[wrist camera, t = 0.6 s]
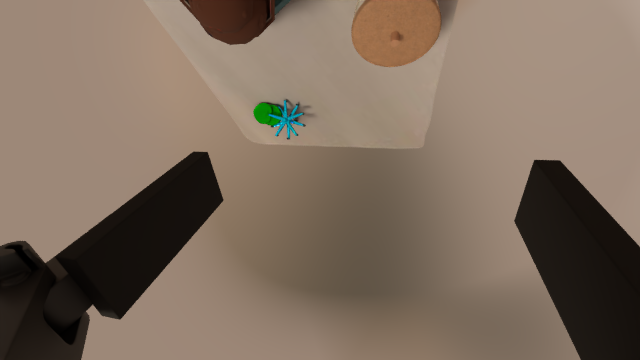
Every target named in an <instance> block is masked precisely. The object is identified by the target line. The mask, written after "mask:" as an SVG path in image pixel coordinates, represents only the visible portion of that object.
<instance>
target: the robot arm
mask: <svg viewBox="0 0 640 360" xmlns="http://www.w3.org/2000/svg"><path fill="white" fill-rule="evenodd" d="M222 202H223V197H222V194H221V191H220V188H219V185H218V182H217V179H216V176H215V173H214V170H213V167H212V164H211V161H210V158H209V155H208V152H193V153H191V154H190V155H188V156H187V157H186V158H184V159H183V160H182V161H181V162H179V163H178V164H176V165H175V166H174V167H173V168H171V169H170V170H169V171H167V172H166V173H165V174H164V175H162V176H161V177H159V178H158V179H157V180H155V181H154V182H153V183H151V184H150V185H149V186H147V187H146V188H145V189H143V190H142V191H141V192H140V193H138V194H137V195H136V196H134V197H133V198H132V199H130V200H129V201H128V202H126V203H125V204H124V205H122V206H121V207H120V208H119V209H117V210H116V211H114V212H113V213H112V214H110V215H109V216H108V217H106V218H105V219H104V220H102V221H101V222H100V223H99V224H97V225H96V226H94V227H93V228H92V229H90V230H89V231H88V232H87V233H85V234H84V235H82V236H81V237H80V238H78V239H77V240H76V241H74V242H73V243H72V244H71V245H69V246H68V247H67V248H65V249H64V250H63V251H61V252H60V253H59V254H57V255H56V256H55V257H53V258H52V259H51V260H49V261H48V262H47V263H44V261H43V260H42V259H41V258H40V257H39V255H38V254H37V253H36V252H35V251H34V250H33V248H32V247H31V246H30V245H29V244H28V243H27V242H26V241H16V242H11V243H7V244H5V245H2V246H0V360H81V358H82V353H83V349H84V344H85V340H86V335H87V330H88V325H89V321H90V319H89V315H88V314H87V312H86V310H88V309H89V308H90V307H91V306H92V305H94V306H95V308H96V309H97V310H98V311H99V313H100V314H101V315H102V316H106V317H110V318H115V319H121V318H122V317H123V316H124V315H125V314H126V312H127V311H128V310H129V309H130V308H131V307H132V305H133V304H134V303H135V302H136V301H137V300H138V299H139V297H140V296H141V295H142V294H143V293H144V292H145V290H146V289H147V288H148V287H149V286H150V285H151V283H152V282H153V281H154V280H155V279H156V278H157V277H158V275H159V274H160V273H161V272H162V271H163V270H164V269H165V267H166V266H167V265H168V264H169V263H170V262H171V260H172V259H173V258H174V257H175V256H176V255H177V254H178V252H179V251H180V250H181V249H182V248H183V246H184V245H185V244H186V243H187V242H188V241H189V239H191V237H192V236H193V235H194V234H195V233H196V232H197V230H198V229H199V228H200V227H201V226H202V225H203V224H204V222H205V221H206V220H207V219H208V218H209V217H210V215H211V214H212V213H213V212H214V211H215V210H216V208H217V207H218V206H219V205H220V204H221V203H222ZM514 221H515V224H516V226H517V228H518V229H519V232H520V234H521V236H522V238H523V240H524V242H525V244H526V246H527V248H528V251H529V253H530V255H531V257H532V259H533V261H534V263H535V265H536V267H537V269H538V271H539V273H540V275H541V277H542V280H543V282H544V284H545V286H546V288H547V290H548V292H549V294H550V296H551V298H552V300H553V302H554V305H555V307H556V309H557V310H558V313H559V315H560V317H561V319H562V321H563V323H564V325H565V327H566V329H567V332H568V333H569V336H570V338H571V340H572V342H573V344H574V346H575V348H576V350H577V352H578V354H579V356H580V359H581V360H640V247H639V245H637V243H636V242H635V241H634V240H633V239H632V238H631V237H630V236H629V235H628V234H627V232H626V231H625V230H624V229H623V228H622V227H621V226H620V225H619V224H618V223H617V222H616V221H615V219H613V217H612V216H611V215H610V214H609V213H608V212H607V211H606V210H605V209H604V208H603V207H602V205H601V204H600V203H599V202H598V201H597V200H596V199H595V198H594V197H593V196H592V195H591V194H590V193H589V191H588V190H587V189H586V188H585V187H584V186H583V185H582V184H581V183H580V182H579V181H578V179H577V178H576V177H575V176H574V175H573V174H572V173H571V172H570V171H569V170H568V169H567V168H566V167H565V165H564V164H563V163H562V162H561V161H558V160H534V163H533V165H532V168H531V171H530V175H529V178H528V181H527V184H526V187H525V190H524V193H523V196H522V199H521V202H520V205H519V208H518V211H517V214H516V218H515V220H514Z"/></svg>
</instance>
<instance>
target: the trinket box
mask: <svg viewBox="0 0 640 360" xmlns="http://www.w3.org/2000/svg"><path fill="white" fill-rule="evenodd" d="M440 30H441V13H440V9H439V5H438V0H358V3H357V6H356V9H355V14H354V20H353V24H352V41H353V44H354V47H355V49H356V50H357V52H358V53H359V54H360V55H361V56H362V57H363V58H364V59H365V60H367V61H369V62H370V63H373V64H375V65H379V66H384V67H395V66H401V65H405V64H408V63H411V62H413V61H415V60H417V59H418V58H420V57H422V56H423V55H424V54H425V53H426V52H428V51H429V49H430V48H431V47H432V46H433V45H434V43H435V42H436V40H437V38H438V36H439V33H440Z"/></svg>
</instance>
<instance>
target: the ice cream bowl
mask: <svg viewBox="0 0 640 360" xmlns="http://www.w3.org/2000/svg"><path fill="white" fill-rule="evenodd" d="M180 1H181V2H182V3H183V4H184V6H185V7H186V8H187V9H188V10H189V11H190V12H191V13H192V14H193V15H194V16H195V17H196V19H197V20H198V21H199V22H200V24H201V25H202V26H203V28H204V29H205V31H206V32H207V34H209V35H210V36H212V37H213V38H215V39H217V40H220V41H222V42H225V43H227V44H230V45H232V44H246V43H248V42H250V41H251V40H252V39H254V38H255V37H258V36H259V35H260V34H261V33H262V32H263V31H264V30H265V29H266V28H267V27H268V26H269V25H270V24H271V23H272V22H273V21H274V20H275V0H180Z"/></svg>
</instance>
